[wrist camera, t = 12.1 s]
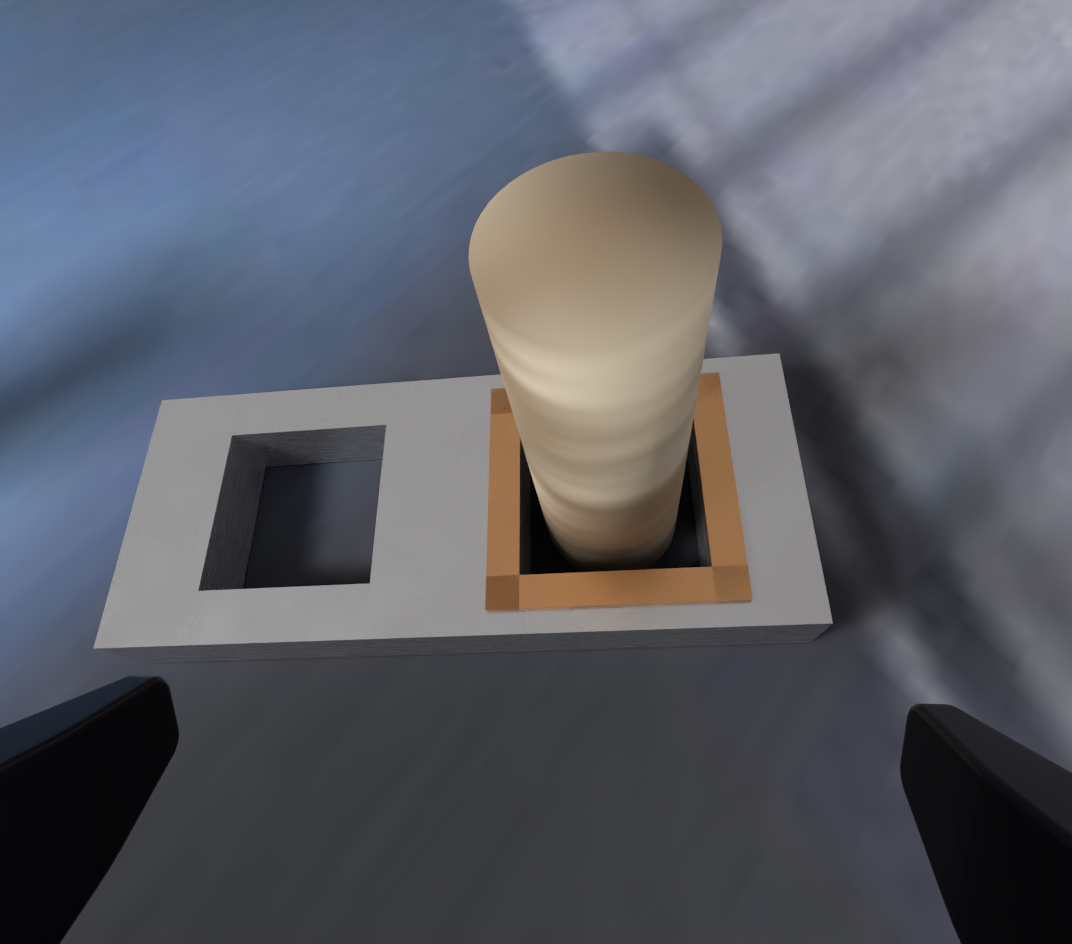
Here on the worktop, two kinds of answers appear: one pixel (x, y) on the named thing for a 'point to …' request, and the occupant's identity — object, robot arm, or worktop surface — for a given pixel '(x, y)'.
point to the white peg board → (455, 531)
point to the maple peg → (601, 342)
